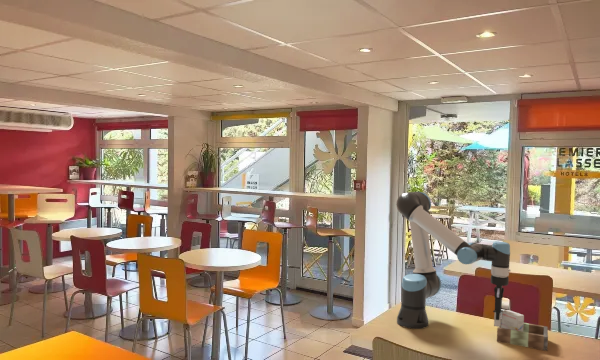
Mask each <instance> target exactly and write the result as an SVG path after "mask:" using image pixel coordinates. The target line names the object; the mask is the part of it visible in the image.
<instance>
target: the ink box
mask: <svg viewBox="0 0 600 360" xmlns="http://www.w3.org/2000/svg"><path fill="white" fill-rule="evenodd" d="M524 323H525V315H524V314H521V313H519V312H515V311H513V310H509V309H506V310H503V311H502V312H501V328H505V329H511V330H517V331H522V332H523V328H524Z"/></svg>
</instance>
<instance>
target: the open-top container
mask: <svg viewBox="0 0 600 360" xmlns="http://www.w3.org/2000/svg"><path fill="white" fill-rule="evenodd" d="M496 330H497V331H496V342H497V343H505V344H509V345H514V346H520V347H523V348H530V349H534V350H535V349H536V350H539V351H545V350H546V351H545V352H548V345H549V343H548V342H549V333H548V330H549V327H548V326H545V325H540V324H534V323H527V322H524V328H523V332H522V331H517V330H511V329H505V328H501V326H500V327H496Z"/></svg>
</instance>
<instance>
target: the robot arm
mask: <svg viewBox="0 0 600 360" xmlns="http://www.w3.org/2000/svg"><path fill="white" fill-rule="evenodd" d="M395 205H396V208H397V210H398V212H399V214H400V215H402V216H403V217H404V218H405V219H406V220H407V221H408V222H409V227H410V233H411V234H410V235H411V242H412V251H413V259H414V269H413V271H412V274H411V273H410V274H409V273H408V274H406V275H404V276H403V277H402V280H401V296H400V297H401V299H400V300H401V303H400V309H399V311H398V314H397V317H396V323H397V324H398V325H399V326H401V327H404V328H407V329H413V330H414V329H416V330H417V329H419V330H420V329H425V328H426V329H427V328H428V327H429V317H428V315H427V314H428V313H427V310H426V305H427V304H426V303H427V302H426V301H427V299H429V298H431V297H434V296H435V295H436V294H438V293H439V292H440V290H441V288H442V280H441V278H440V276H439V275H438V274H437V269H435V268H434V267H433V260H432V252H431V244H430V236H431V237H433V239H435V240H436V241H438V242H439V243H440V244H441V245H442V246H444V247H445V248H446V249H448V250H449V251H451V252H452V253H453V254H454V255H456V258H457V260H458V261H459V263H461V264H463V265H472V264H474V263H476V262H478V261H487V262H491V267H490V269H491V270H490V274H491V275H490V283H491V284H492V285H495V287H494V289H493V290H494V291H493V292H494V309H493V310H492V312H493V313H494V317H493V320H494V321H493V326H494V327H496V328H498V327H500V326H501V312H502V311H504V309H503V308H502V305H503V303H502V302H503V297H504V293H505V287H506V286H508V285H509V279H510V277H509V275H510V273H509V272H511V269H510V259H511V245H510V243H509V242H505V241H498V240H497V241H493V242H492V244H484V243H477V242H466V240H464V239H463V238H461V237H460V236H459V235H457V234H456V233H455V232H454V231H452V230H451V229H450V228H448V227H447V226H446V225H445V224H443V223H442V222H441V221H439V220H438V219H437V218H435V217H434V216H432V214H430V213H429V212H430V209H431V207H432V201H431V198H430V197H429V196H428V194H426V192H421V191H410V192H409V191H408V192H407V191H406V192H404V193H402V194H400V195H399V196H398V198H397V200H396V204H395ZM504 286H505V287H504Z"/></svg>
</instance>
